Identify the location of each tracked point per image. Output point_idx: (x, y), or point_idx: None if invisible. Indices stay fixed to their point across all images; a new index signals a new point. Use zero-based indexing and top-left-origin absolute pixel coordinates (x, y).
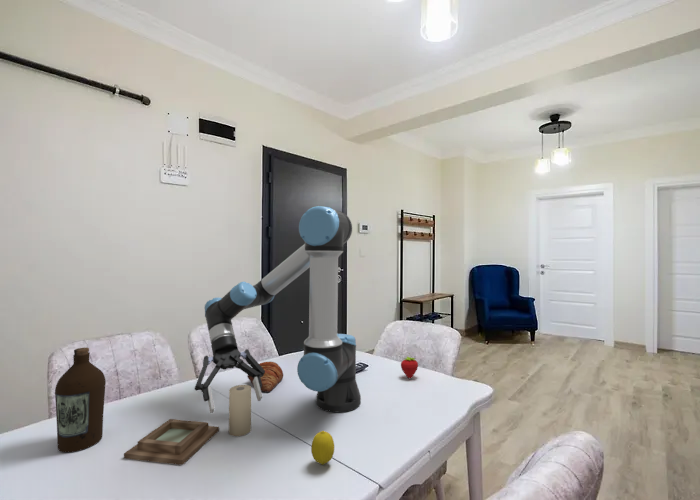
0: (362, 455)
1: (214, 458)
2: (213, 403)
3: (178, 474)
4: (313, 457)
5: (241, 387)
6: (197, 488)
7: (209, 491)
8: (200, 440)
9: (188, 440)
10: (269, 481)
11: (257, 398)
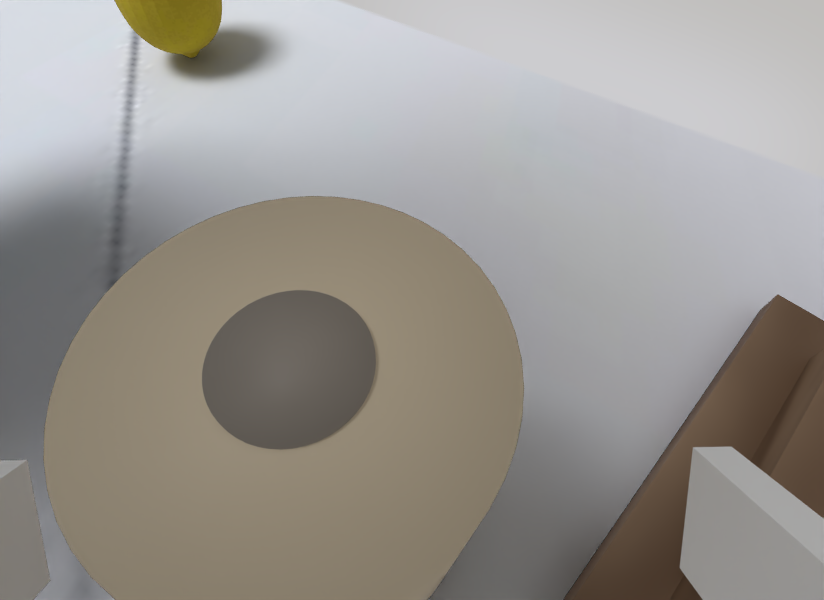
0: (44, 35)
1: (586, 283)
2: (744, 487)
3: (762, 250)
4: (220, 15)
5: (247, 397)
6: (658, 140)
7: (612, 111)
8: None
9: (809, 397)
10: (401, 68)
11: (21, 586)
